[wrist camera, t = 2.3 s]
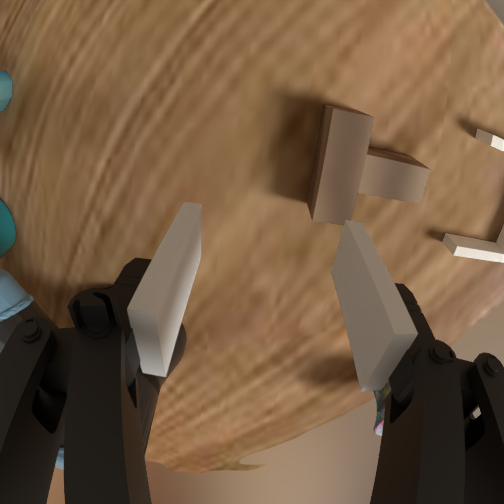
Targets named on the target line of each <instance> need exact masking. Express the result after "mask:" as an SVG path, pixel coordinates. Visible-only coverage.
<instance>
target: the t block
mask: <svg viewBox="0 0 504 504" xmlns="http://www.w3.org/2000/svg"><path fill="white" fill-rule="evenodd" d="M373 121H374V117H372V116H370V115H367V114H365V113H363V112H360V111H356V110H351V109H347V108H342V107H337V106H331V105H326V104H324V107H323V114H322V120H321V126H320V132H319V139H318V145H317V150H316V156H315V162H314V168H313V174H312V179H311V185H310V190H309V196H308V201H307V205H308V208H309V211H310V215H311V218H312V221H315V222H323V223H331V224H339V225H344V224H345V220H349V221H351V218H352V215H353V211H354V207H355V203H356V199H357V195H358V193H362V194H368V195H373V196H379V197H385V198H390V199H395V200H400V201H406V202H411V203H416V204H421V201H422V197H423V194H424V191H425V188H426V184H427V181H428V177H429V174H430V169H429V168H428V167H426V166H425V165H423V164H422V163H420V162H419V161H417V160H416V159H415V158H413V157H410V156H406V155H402V154H398V153H393V152H389V151H385V150H381V149H376V148H371V147H368V146H369V141H370V137H371V131H372V126H373Z"/></svg>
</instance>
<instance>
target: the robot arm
mask: <svg viewBox="0 0 504 504" xmlns="http://www.w3.org/2000/svg"><path fill="white" fill-rule="evenodd" d="M201 221H202V204H201V203H190V202H184V203H183V205H182V207H181V209H180V210H179V212H178V214H177V215H176V217H175V219H174V221H173V223H172V224H171V226H170V228H169V230H168V231H167V233H166V235H165V237H164V239H163V240H162V242H161V244H160V246H159V248H158V250H157V251H156V253H155V255H154V257H153V259H152V260H150V259H142V258H135V259H133V260H132V261H130V262H129V263H128V264H126V265H125V266H124V268H123V270H122V271H121V273H120V275H119V277H118V278H117V279H116V281H115V284H114V285H113V286H112V288H107V289H90V290H85V291H83V292H81V293H79V294H77V295H76V296H75V297H74V298H73V299H71V301H70V303H69V305H68V309H69V312H70V315H71V317H72V320H73V323H74V325H75V327H74V328H62V329H59V328H58V327H57V326H56V325H55V324H54V322H53V321H52V320H51V319H50V318H49V317H48V316H47V315H46V314H45V313H44V311H43V310H42V309H41V308H40V307H39V306H38V305H37V303H36V302H35V301H34V298H33V297H32V295H30V294H28V293H27V292H26V291H25V290H24V289H23V288H22V287H21V286H20V284H19V283H18V282H17V281H16V280H15V279H14V278H13V276H12V275H11V274H10V273H9V272H7V271H6V270H4V269H0V504H46V503H47V498H48V493H49V489H50V484H51V480H52V476H53V472H54V467H57V468H60V469H62V470H64V493H65V504H152V503H151V497H150V492H149V486H148V478H147V472H146V465H145V452H146V448H147V443H148V439H149V434H150V430H151V425H152V421H153V417H154V412H155V408H156V404H157V400H158V396H159V392H160V388H161V386H162V384H163V383H164V382H165V380H166V379H167V378H168V376H169V375H170V374H171V372H172V371H173V370H174V368H175V367H176V366H177V364H178V363H179V362H180V360H181V358H182V356H183V353H184V349H185V345H186V332H185V329H184V326H183V324H182V318H183V315H184V312H185V308H186V305H187V302H188V298H189V295H190V292H191V288H192V285H193V282H194V279H195V275H196V272H197V269H198V266H199V263H200V259H201ZM331 273H332V276H333V280H334V284H335V287H336V291H337V295H338V298H339V302H340V306H341V310H342V314H343V318H344V321H345V325H346V329H347V334H348V338H349V342H350V346H351V350H352V355H353V359H354V363H355V368H356V372H357V377H358V381H359V386H360V391H376V390H382V388H383V387H384V386H385V384H386V383H387V381H388V380H389V383H390V386H391V391H390V392H389V393H388V395H387V396H386V397H385V399H384V400H383V401H382V402H381V404H380V405H379V406H378V409H377V412H380V411H381V410H382V409H383V407H384V406H385V411H384V423H383V431H382V439H381V446H380V453H379V459H378V465H377V471H376V476H375V482H374V487H373V492H372V496H371V502H370V504H504V367H503V365H502V364H501V362H500V361H499V360H498V359H497V358H496V357H495V356H494V355H491V354H489V353H481V354H479V355H478V356H477V358H476V359H475V360H474V362H469V361H465V360H462V359H458V358H456V355H455V353H454V351H453V350H452V349H451V347H449V346H448V345H447V344H446V343H444V342H442V341H439V340H435V337H434V335H433V333H432V331H431V329H430V327H429V325H428V323H427V321H426V319H425V317H424V315H423V313H421V309H420V307H419V305H417V301H416V299H415V297H414V295H413V293H412V292H411V291H410V290H409V289H408V288H407V287H406V286H405V285H404V284H398V283H394V282H393V280H392V278H391V276H390V274H389V272H388V270H387V268H386V266H385V264H384V262H383V260H382V258H381V256H380V255H379V253H378V251H377V249H376V247H375V245H374V243H373V242H372V240H371V238H370V236H369V234H368V233H367V231H366V229H365V227H364V226H363V224H362V222H357V221H349V220H345V224H344V227H343V231H342V235H341V239H340V243H339V246H338V250H337V253H336V257H335V261H334V264H333V268H332V271H331ZM478 407H479V408H480V411H481V415H480V416H478V417H477V418H475V417H474V416H473V412H474V411H475V410H476V409H477V408H478Z"/></svg>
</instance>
